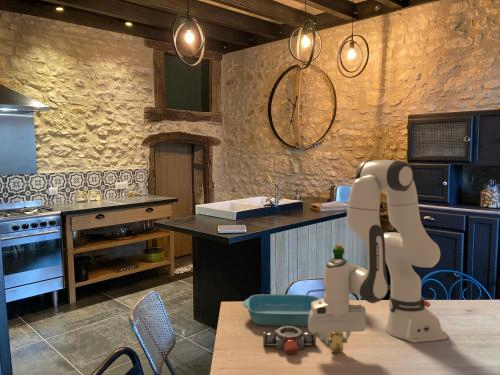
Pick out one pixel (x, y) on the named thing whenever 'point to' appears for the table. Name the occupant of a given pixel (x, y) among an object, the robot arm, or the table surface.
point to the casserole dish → (280, 309)
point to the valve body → (289, 339)
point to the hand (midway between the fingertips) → (336, 342)
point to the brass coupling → (336, 341)
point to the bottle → (338, 252)
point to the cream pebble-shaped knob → (323, 336)
